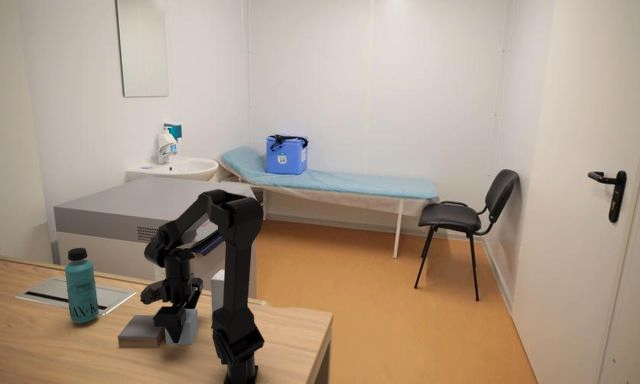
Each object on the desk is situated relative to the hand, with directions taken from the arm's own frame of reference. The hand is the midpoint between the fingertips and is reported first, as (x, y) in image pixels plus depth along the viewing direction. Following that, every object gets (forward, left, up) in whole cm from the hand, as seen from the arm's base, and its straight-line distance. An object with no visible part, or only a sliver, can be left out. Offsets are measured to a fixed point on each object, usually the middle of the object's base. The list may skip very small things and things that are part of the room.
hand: (182, 331), depth 97 cm
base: (0, +9, -2) cm, 9 cm away
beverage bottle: (+6, +27, -2) cm, 28 cm away
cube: (0, 0, -2) cm, 2 cm away
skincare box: (+10, -8, -2) cm, 13 cm away
